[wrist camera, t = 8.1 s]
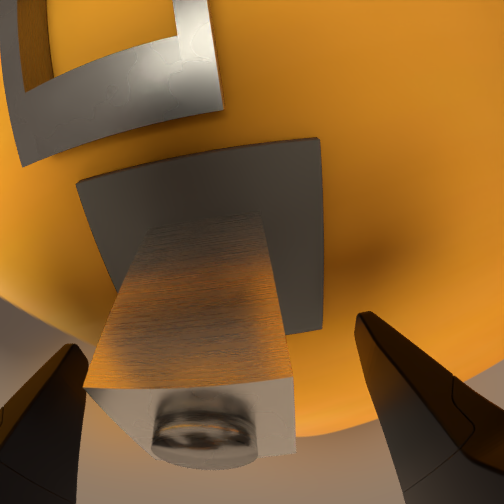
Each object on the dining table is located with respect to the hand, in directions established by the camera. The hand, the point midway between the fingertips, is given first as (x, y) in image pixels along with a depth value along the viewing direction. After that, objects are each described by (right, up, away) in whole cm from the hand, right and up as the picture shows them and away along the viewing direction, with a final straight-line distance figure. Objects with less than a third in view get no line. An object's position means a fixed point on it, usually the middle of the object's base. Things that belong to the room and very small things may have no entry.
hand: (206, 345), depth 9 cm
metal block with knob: (0, +2, +3) cm, 4 cm away
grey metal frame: (-5, +17, -6) cm, 19 cm away
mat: (0, +2, +4) cm, 4 cm away
